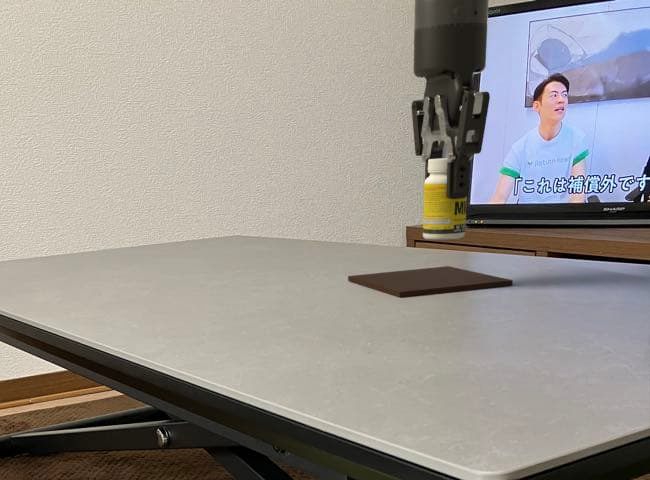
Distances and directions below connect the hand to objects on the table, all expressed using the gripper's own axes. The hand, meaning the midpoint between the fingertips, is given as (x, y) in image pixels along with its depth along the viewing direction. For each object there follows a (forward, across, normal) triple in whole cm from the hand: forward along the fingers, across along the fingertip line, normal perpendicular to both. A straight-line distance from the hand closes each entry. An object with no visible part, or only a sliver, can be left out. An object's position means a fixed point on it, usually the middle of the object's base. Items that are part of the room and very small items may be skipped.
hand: (445, 196), depth 101 cm
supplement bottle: (+5, 0, 0) cm, 5 cm away
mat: (+10, +5, 0) cm, 11 cm away
